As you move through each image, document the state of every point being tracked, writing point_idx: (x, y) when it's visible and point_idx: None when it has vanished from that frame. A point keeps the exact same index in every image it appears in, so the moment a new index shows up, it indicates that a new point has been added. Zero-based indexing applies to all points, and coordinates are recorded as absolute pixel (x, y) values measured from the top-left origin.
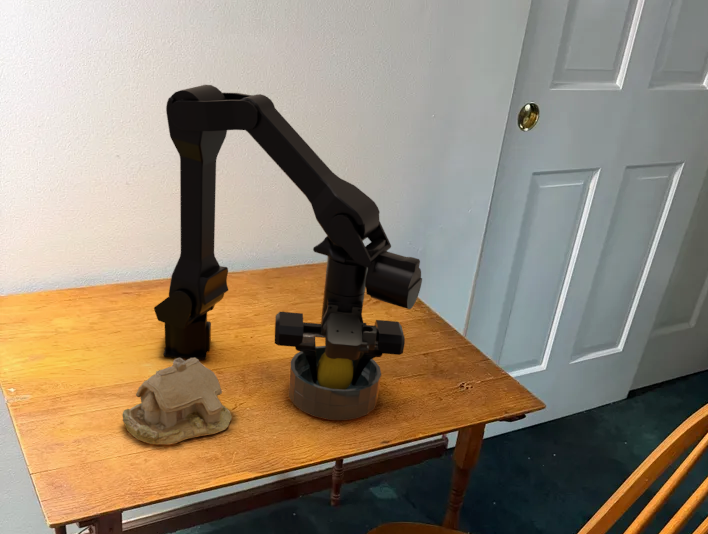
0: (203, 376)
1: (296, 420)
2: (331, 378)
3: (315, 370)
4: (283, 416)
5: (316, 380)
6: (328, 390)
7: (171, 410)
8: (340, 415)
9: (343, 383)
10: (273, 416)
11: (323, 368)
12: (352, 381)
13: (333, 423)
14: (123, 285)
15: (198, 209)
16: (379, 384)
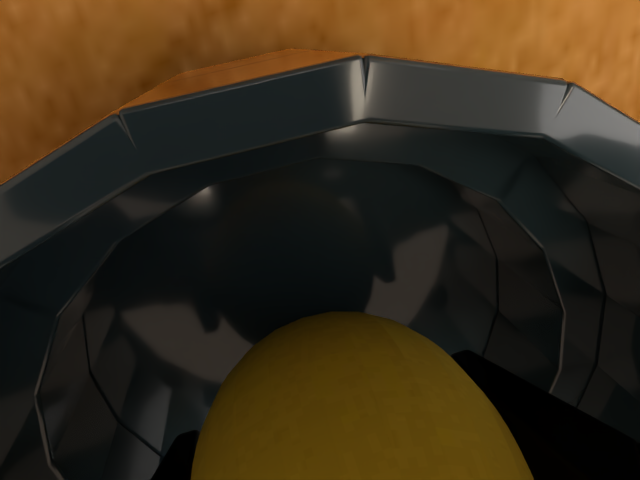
0: None
1: (496, 8)
2: (380, 378)
3: (539, 424)
4: (574, 33)
5: (461, 366)
6: (404, 62)
7: None
8: (197, 70)
9: (249, 385)
10: (632, 12)
11: (505, 464)
12: (191, 457)
13: (244, 51)
14: None
15: None
16: None
